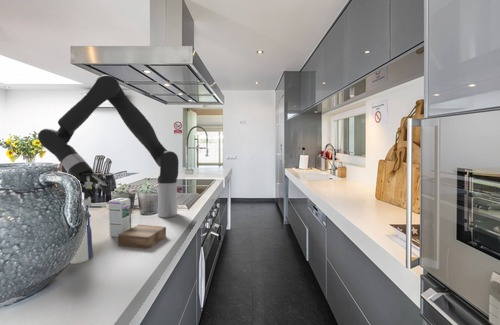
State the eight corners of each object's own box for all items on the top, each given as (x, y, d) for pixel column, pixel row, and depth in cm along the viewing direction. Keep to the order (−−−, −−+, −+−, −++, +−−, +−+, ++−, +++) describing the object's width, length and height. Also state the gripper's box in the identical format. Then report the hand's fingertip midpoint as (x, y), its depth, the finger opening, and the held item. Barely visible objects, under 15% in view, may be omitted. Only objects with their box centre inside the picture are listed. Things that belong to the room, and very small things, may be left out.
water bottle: (71, 253, 86) (69, 178, 84) (98, 252, 87) (96, 178, 85) (55, 264, 78) (53, 182, 76) (86, 263, 79) (84, 182, 77)
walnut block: (139, 234, 105) (138, 224, 104) (165, 236, 102) (165, 226, 102) (118, 245, 93) (118, 234, 93) (148, 248, 91) (148, 237, 90)
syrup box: (122, 237, 101) (121, 201, 100) (109, 236, 102) (108, 200, 101) (131, 232, 106) (131, 198, 105) (119, 231, 107) (118, 197, 106)
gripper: (66, 162, 99) (93, 193, 97) (96, 160, 112) (119, 187, 111) (56, 175, 100) (81, 206, 99) (86, 171, 114) (109, 198, 112)
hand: (101, 196), depth 105 cm, fingers open, 8 cm apart
